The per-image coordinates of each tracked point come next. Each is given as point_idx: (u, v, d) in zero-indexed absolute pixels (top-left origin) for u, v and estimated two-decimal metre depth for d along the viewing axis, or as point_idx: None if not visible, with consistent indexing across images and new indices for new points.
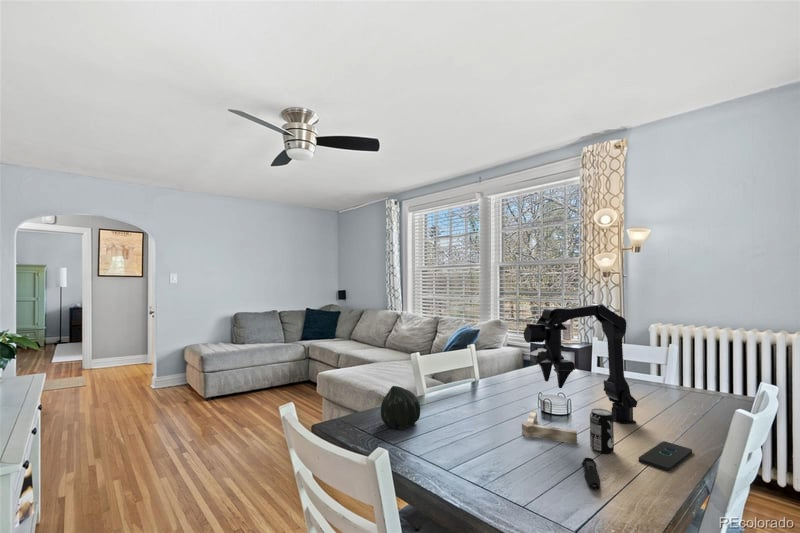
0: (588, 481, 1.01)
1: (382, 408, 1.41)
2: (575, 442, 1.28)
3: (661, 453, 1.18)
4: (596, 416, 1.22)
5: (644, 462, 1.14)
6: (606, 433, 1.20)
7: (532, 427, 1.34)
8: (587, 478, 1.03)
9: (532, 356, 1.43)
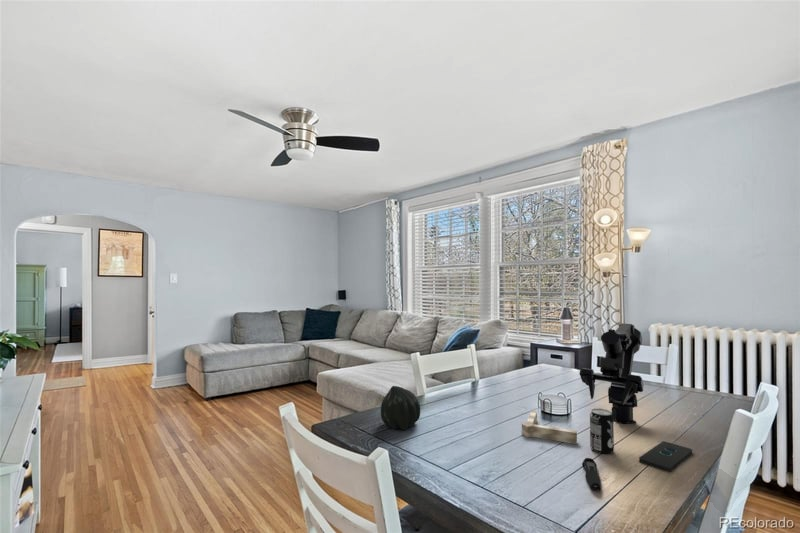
0: (589, 482, 1.01)
1: (382, 408, 1.41)
2: (575, 442, 1.28)
3: (661, 453, 1.18)
4: (596, 416, 1.22)
5: (645, 462, 1.14)
6: (606, 433, 1.20)
7: (532, 427, 1.34)
8: (588, 479, 1.03)
9: (608, 359, 1.31)
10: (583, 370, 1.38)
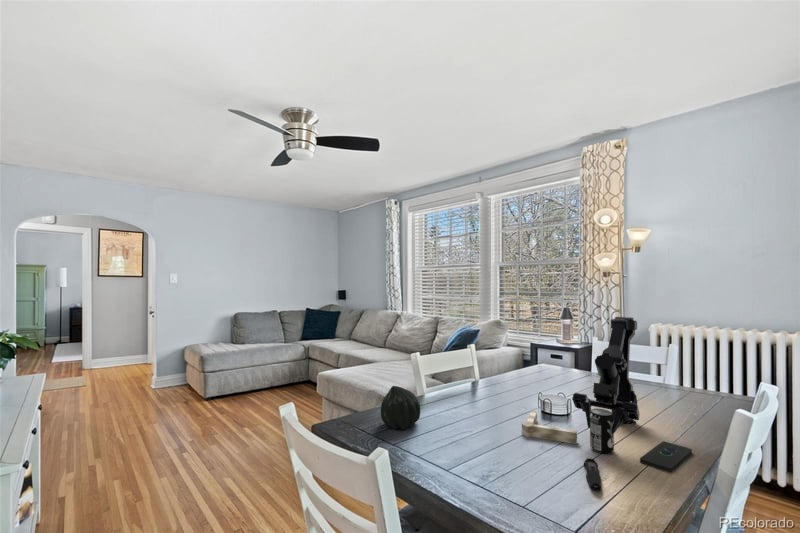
0: (589, 482, 1.01)
1: (382, 408, 1.41)
2: (575, 442, 1.28)
3: (662, 453, 1.18)
4: (596, 416, 1.22)
5: (646, 463, 1.14)
6: (606, 433, 1.20)
7: (532, 427, 1.34)
8: (588, 479, 1.02)
9: (602, 385, 1.24)
10: (576, 395, 1.31)
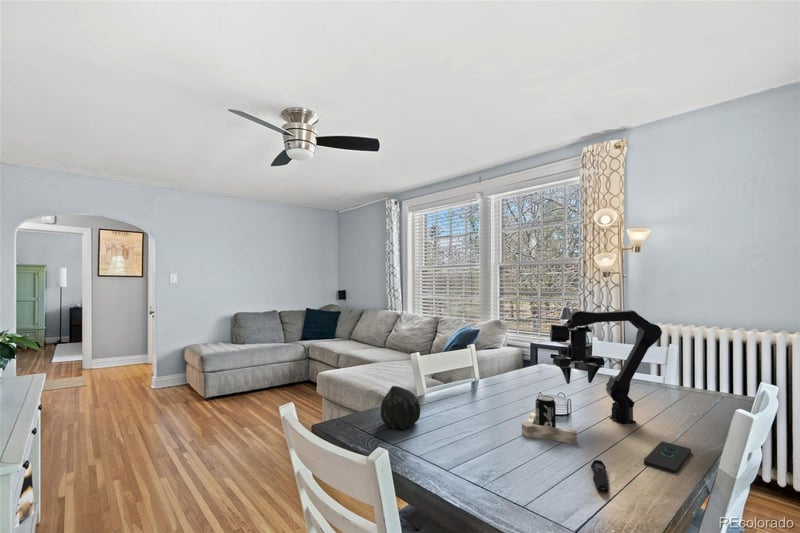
0: (596, 483, 1.00)
1: (382, 408, 1.41)
2: (575, 442, 1.28)
3: (663, 454, 1.17)
4: (537, 400, 1.37)
5: (650, 465, 1.12)
6: (542, 416, 1.35)
7: (532, 427, 1.34)
8: (595, 480, 1.02)
9: None
10: None
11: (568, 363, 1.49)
